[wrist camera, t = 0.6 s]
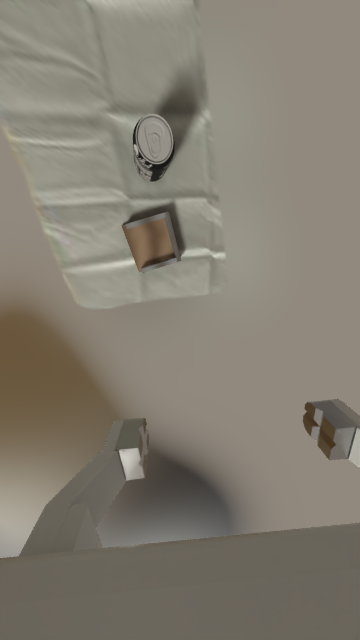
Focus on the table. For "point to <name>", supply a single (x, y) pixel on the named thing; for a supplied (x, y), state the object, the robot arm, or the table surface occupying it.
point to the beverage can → (152, 146)
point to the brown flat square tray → (152, 242)
